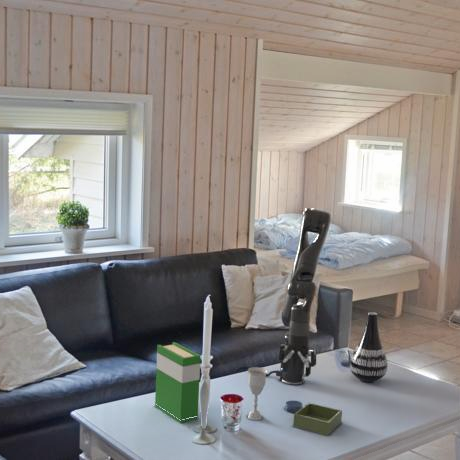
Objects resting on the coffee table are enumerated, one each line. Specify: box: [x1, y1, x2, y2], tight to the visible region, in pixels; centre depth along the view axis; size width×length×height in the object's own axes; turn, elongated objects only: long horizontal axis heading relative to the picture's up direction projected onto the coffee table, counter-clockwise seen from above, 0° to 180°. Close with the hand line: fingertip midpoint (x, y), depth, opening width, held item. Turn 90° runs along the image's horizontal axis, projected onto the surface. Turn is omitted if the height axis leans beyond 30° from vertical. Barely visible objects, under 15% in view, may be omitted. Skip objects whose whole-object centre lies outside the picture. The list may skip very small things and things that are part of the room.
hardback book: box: [154, 341, 202, 424], centre depth 286 cm, size 18×7×24 cm, turn 37°
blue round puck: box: [285, 400, 304, 414], centre depth 297 cm, size 6×6×2 cm
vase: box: [349, 311, 389, 384], centre depth 331 cm, size 16×16×30 cm
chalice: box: [247, 366, 268, 421], centre depth 286 cm, size 7×7×18 cm
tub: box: [292, 402, 343, 436], centre depth 283 cm, size 13×13×5 cm
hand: (296, 373), depth 294 cm, fingers open, 8 cm apart
